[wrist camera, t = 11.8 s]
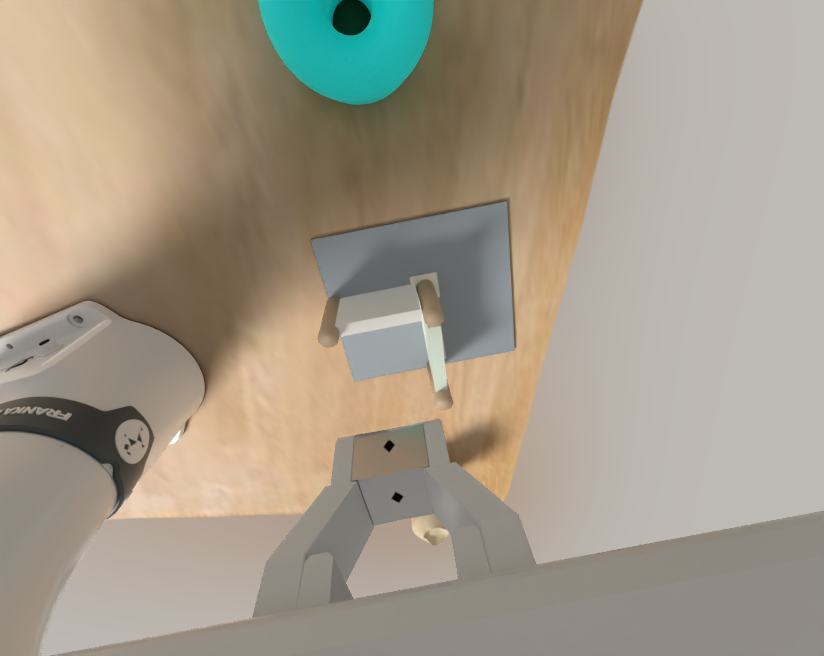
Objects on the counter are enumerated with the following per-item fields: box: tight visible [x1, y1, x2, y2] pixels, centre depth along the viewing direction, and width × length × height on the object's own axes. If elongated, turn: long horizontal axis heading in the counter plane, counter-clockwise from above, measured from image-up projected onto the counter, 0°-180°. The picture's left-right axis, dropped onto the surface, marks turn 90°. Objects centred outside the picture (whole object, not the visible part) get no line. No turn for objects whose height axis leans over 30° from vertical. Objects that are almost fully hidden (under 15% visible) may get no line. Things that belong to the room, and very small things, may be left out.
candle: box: [411, 514, 451, 545], centre depth 49 cm, size 6×6×10 cm
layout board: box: [310, 201, 515, 381], centre depth 41 cm, size 19×17×1 cm
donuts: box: [258, 0, 434, 105], centre depth 25 cm, size 10×10×10 cm
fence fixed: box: [318, 279, 444, 347], centre depth 37 cm, size 11×2×7 cm, turn 100°
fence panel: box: [423, 318, 453, 410], centre depth 40 cm, size 9×2×7 cm, turn 7°
